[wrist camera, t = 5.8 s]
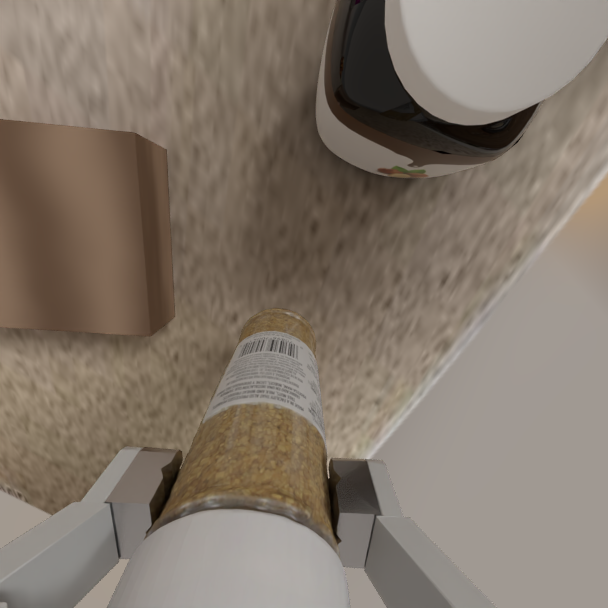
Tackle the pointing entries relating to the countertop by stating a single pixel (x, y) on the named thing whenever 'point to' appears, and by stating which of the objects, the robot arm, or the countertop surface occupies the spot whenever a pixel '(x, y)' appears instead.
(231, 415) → the sprinkles bottle
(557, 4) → the spread jar
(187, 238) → the countertop surface
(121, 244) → the walnut base
